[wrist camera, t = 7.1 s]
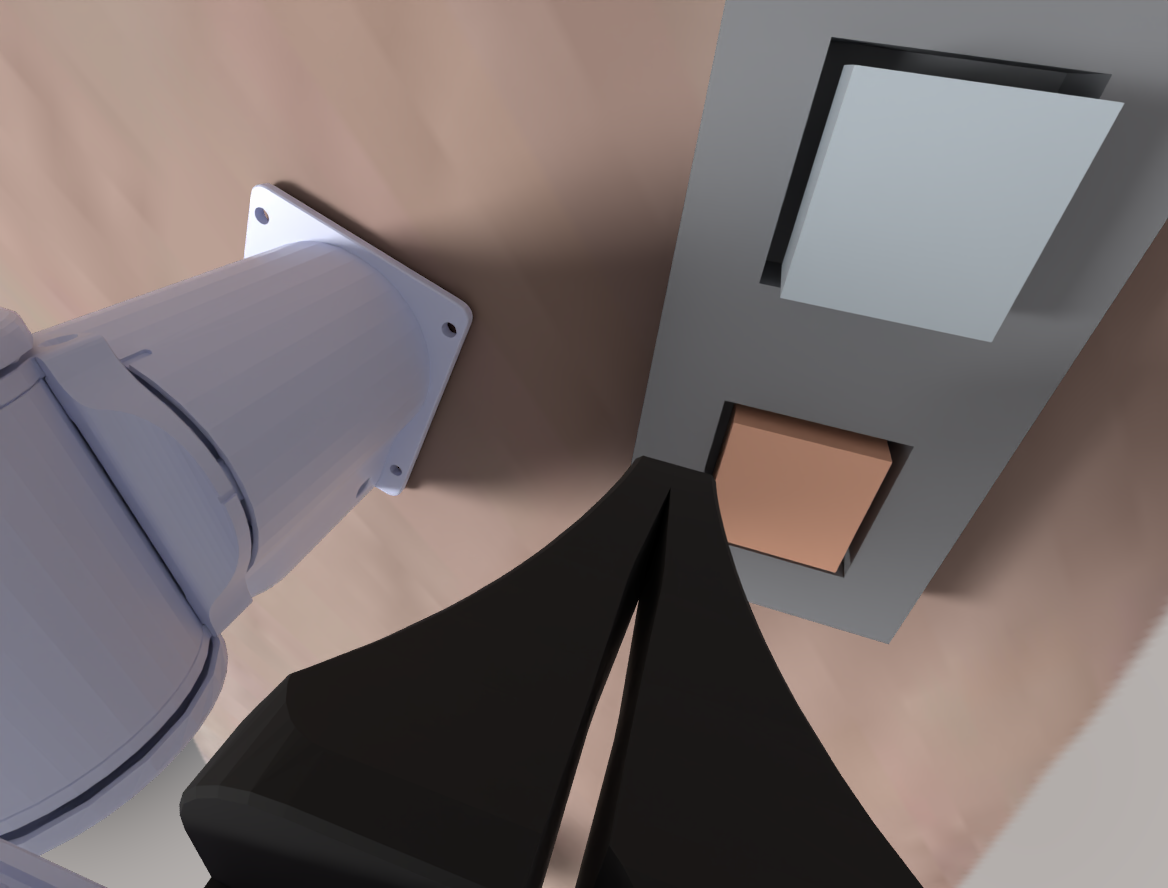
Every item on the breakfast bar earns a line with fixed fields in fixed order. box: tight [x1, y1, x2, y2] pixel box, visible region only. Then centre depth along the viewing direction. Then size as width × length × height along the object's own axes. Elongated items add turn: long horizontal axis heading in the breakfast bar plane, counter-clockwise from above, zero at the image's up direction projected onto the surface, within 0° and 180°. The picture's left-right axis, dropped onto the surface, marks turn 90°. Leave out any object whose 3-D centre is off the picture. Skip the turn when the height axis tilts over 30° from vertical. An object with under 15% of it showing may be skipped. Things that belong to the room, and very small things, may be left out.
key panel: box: [631, 0, 1168, 644], centre depth 13 cm, size 25×9×2 cm, turn 172°
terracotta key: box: [712, 403, 892, 573], centre depth 17 cm, size 4×4×2 cm
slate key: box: [780, 65, 1124, 342], centre depth 11 cm, size 4×4×2 cm
